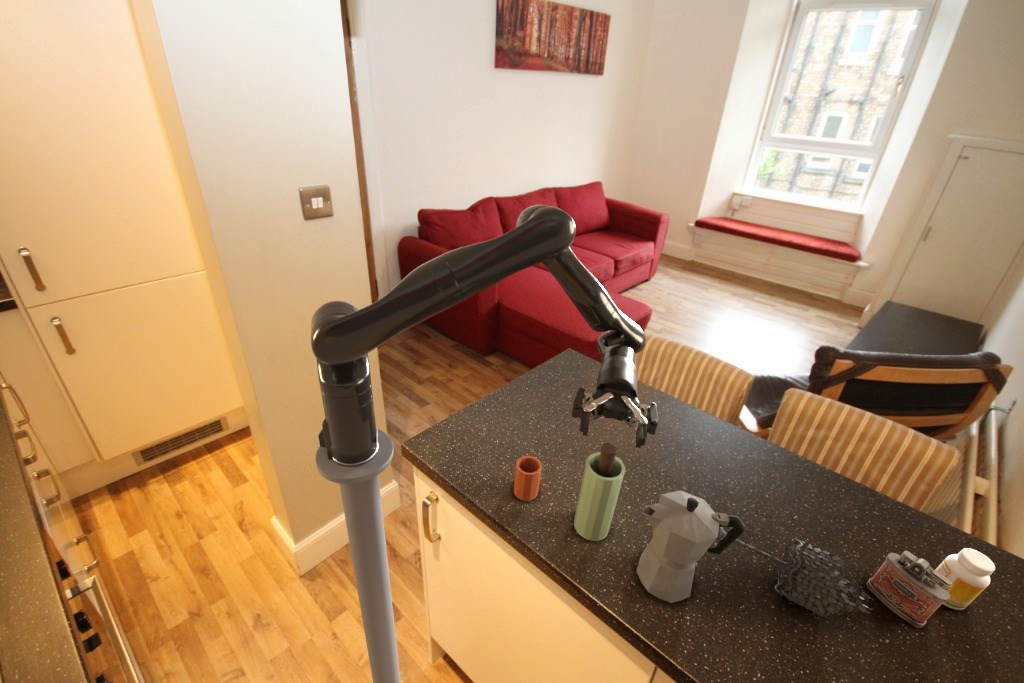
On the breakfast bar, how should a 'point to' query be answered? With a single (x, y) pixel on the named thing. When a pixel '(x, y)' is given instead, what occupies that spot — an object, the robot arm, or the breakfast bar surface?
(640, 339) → the robot arm
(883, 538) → the breakfast bar surface
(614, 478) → the vase
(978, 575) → the supplement bottle
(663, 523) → the coffeepot
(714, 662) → the breakfast bar surface
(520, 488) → the pot
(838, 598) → the massage brush
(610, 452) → the bottle brush
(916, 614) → the lighter
